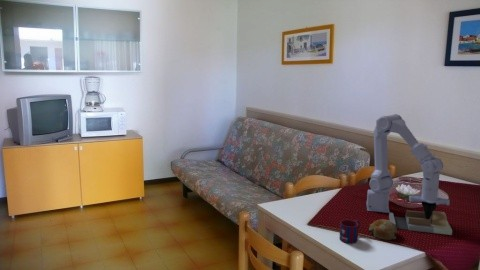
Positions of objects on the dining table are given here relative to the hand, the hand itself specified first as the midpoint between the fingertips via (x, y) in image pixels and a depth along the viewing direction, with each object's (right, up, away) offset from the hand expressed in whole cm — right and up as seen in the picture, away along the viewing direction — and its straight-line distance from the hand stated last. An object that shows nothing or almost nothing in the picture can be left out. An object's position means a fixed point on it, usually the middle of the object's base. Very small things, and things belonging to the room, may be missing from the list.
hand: (427, 219), depth 153 cm
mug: (-34, -5, -10) cm, 36 cm away
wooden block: (+4, -1, -1) cm, 4 cm away
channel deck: (-3, -3, +2) cm, 5 cm away
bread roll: (-21, -5, -6) cm, 22 cm away
